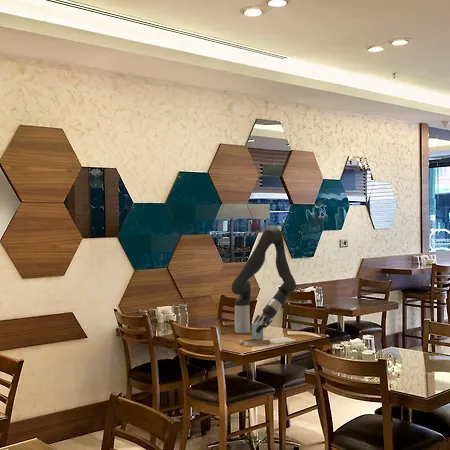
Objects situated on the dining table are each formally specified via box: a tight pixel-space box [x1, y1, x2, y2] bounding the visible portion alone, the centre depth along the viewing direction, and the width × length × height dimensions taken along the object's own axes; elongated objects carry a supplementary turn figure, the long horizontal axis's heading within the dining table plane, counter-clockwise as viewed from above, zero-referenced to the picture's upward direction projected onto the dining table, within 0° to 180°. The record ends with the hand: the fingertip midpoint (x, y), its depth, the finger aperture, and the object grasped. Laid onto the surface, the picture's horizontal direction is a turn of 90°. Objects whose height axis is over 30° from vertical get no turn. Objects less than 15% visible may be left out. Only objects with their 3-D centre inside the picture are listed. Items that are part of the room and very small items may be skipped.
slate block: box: [251, 322, 264, 340], centre depth 330 cm, size 5×5×8 cm
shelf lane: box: [238, 338, 271, 348], centre depth 329 cm, size 8×15×2 cm, turn 118°
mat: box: [264, 336, 297, 345], centre depth 337 cm, size 12×15×1 cm
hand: (254, 331), depth 329 cm, fingers closed on slate block, 4 cm apart
